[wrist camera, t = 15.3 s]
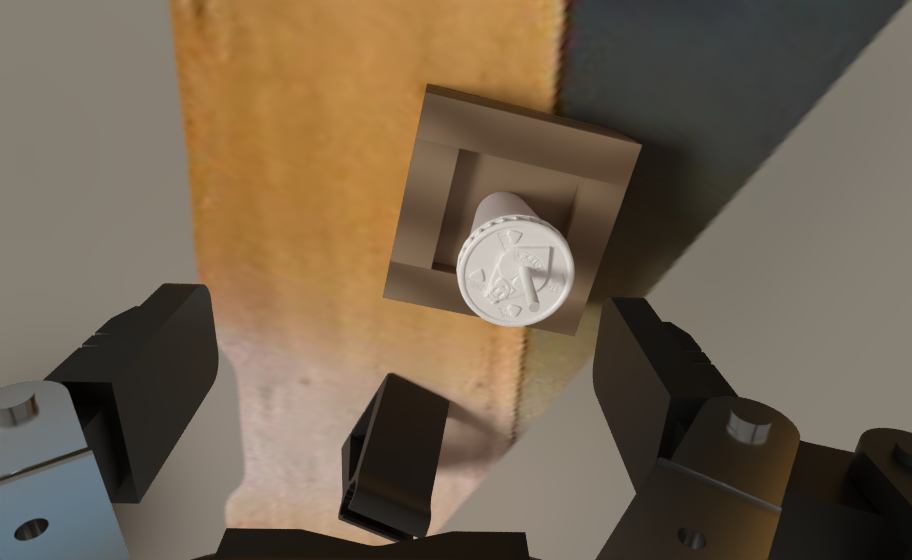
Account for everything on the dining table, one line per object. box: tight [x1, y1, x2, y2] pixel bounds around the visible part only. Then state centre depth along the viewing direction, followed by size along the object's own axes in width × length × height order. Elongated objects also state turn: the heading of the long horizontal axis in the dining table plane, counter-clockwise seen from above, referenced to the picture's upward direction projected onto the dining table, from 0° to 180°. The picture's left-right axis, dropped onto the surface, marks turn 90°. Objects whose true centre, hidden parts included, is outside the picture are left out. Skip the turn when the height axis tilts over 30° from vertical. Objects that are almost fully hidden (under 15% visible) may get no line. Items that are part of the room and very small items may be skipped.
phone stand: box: [338, 374, 449, 543], centre depth 47 cm, size 9×6×12 cm, turn 149°
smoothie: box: [456, 192, 575, 327], centre depth 34 cm, size 6×6×14 cm
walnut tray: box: [383, 84, 642, 336], centre depth 42 cm, size 14×14×6 cm
